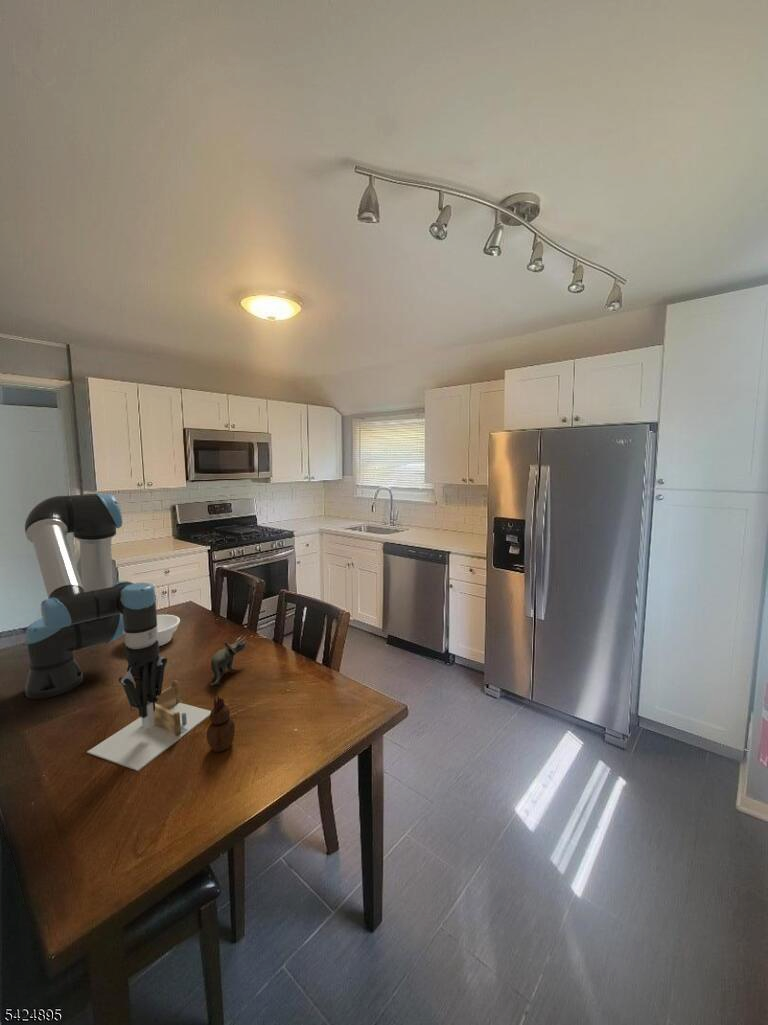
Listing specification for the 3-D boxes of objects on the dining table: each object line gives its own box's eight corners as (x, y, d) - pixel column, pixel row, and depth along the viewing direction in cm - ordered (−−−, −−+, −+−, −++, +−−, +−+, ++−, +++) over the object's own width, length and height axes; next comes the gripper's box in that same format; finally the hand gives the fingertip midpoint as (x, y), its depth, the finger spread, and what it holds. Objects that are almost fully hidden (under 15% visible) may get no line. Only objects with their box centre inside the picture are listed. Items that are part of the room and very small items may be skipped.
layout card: (87, 753, 108) (86, 740, 108) (167, 700, 131) (167, 690, 131) (138, 771, 102) (137, 758, 101) (213, 712, 125) (212, 702, 125)
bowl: (164, 655, 162) (163, 634, 161) (110, 654, 162) (109, 634, 161) (190, 632, 183) (189, 614, 182) (142, 632, 183) (141, 614, 182)
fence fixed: (144, 723, 120) (142, 698, 119) (176, 702, 131) (175, 679, 130) (149, 724, 120) (147, 700, 119) (180, 703, 130) (178, 680, 129)
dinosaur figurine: (213, 696, 134) (211, 663, 132) (190, 693, 135) (188, 660, 134) (249, 663, 155) (247, 634, 153) (228, 661, 157) (226, 632, 155)
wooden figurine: (217, 759, 106) (214, 703, 104) (203, 750, 109) (200, 697, 107) (239, 743, 112) (237, 691, 110) (225, 736, 115) (222, 684, 113)
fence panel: (149, 722, 119) (148, 702, 118) (154, 719, 120) (153, 700, 120) (177, 736, 113) (176, 715, 112) (182, 733, 114) (180, 713, 114)
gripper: (129, 656, 102) (136, 744, 106) (173, 635, 114) (178, 714, 118) (108, 651, 105) (115, 737, 108) (152, 630, 117) (158, 708, 121)
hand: (148, 725), depth 113 cm, fingers closed
